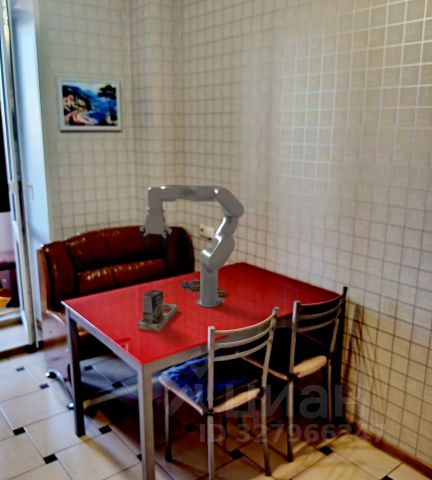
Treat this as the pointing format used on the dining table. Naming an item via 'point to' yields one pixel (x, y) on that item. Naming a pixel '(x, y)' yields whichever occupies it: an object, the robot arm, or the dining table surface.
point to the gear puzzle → (198, 287)
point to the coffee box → (153, 307)
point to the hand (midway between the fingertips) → (155, 244)
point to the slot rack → (165, 319)
